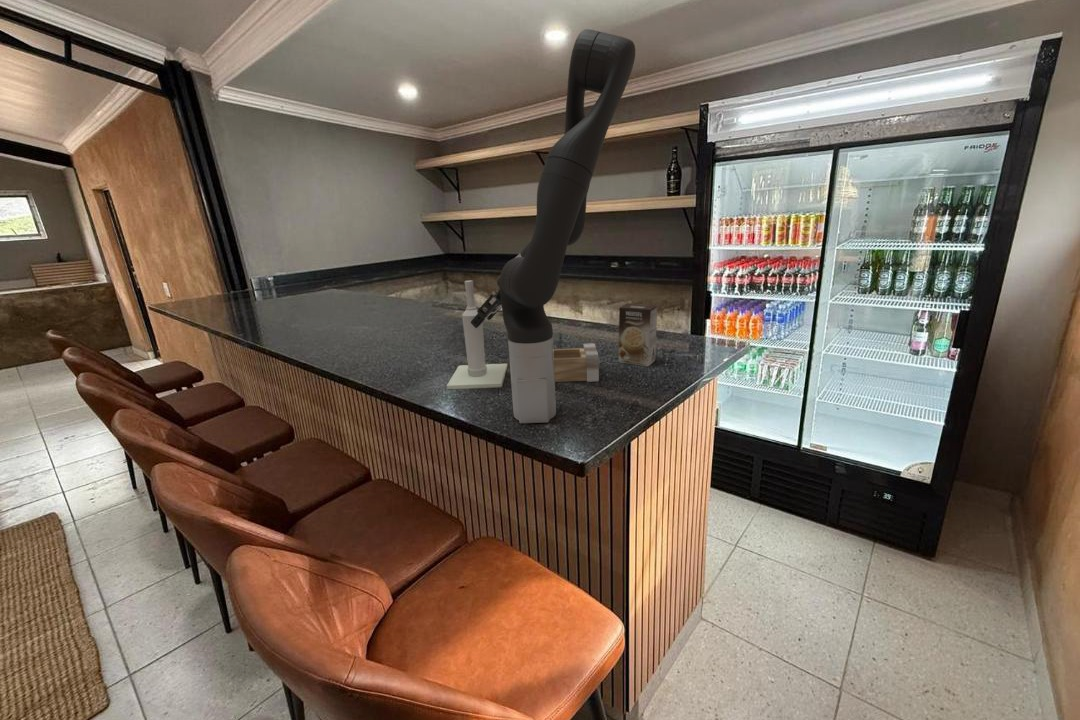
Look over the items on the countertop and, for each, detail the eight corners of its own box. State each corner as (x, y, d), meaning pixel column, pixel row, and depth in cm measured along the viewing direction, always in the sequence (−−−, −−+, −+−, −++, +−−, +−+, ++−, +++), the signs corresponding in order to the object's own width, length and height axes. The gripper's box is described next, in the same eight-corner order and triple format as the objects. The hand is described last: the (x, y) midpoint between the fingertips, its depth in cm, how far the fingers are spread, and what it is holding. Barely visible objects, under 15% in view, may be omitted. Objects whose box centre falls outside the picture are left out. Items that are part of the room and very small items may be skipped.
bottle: (479, 378, 118) (470, 282, 110) (464, 375, 121) (454, 282, 113) (491, 371, 122) (483, 279, 115) (475, 369, 125) (467, 279, 117)
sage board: (501, 387, 114) (501, 383, 113) (447, 389, 114) (446, 385, 114) (507, 366, 129) (507, 363, 129) (459, 368, 129) (458, 365, 129)
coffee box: (617, 362, 127) (617, 307, 123) (625, 356, 133) (626, 302, 128) (648, 367, 123) (650, 309, 118) (656, 360, 128) (658, 304, 123)
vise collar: (598, 381, 114) (598, 355, 112) (538, 383, 115) (537, 357, 113) (594, 365, 126) (593, 341, 124) (539, 367, 127) (538, 343, 125)
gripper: (517, 262, 116) (480, 305, 122) (498, 268, 103) (457, 317, 109) (538, 282, 116) (500, 325, 123) (521, 292, 103) (479, 338, 110)
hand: (480, 321), depth 116 cm, fingers open, 8 cm apart
